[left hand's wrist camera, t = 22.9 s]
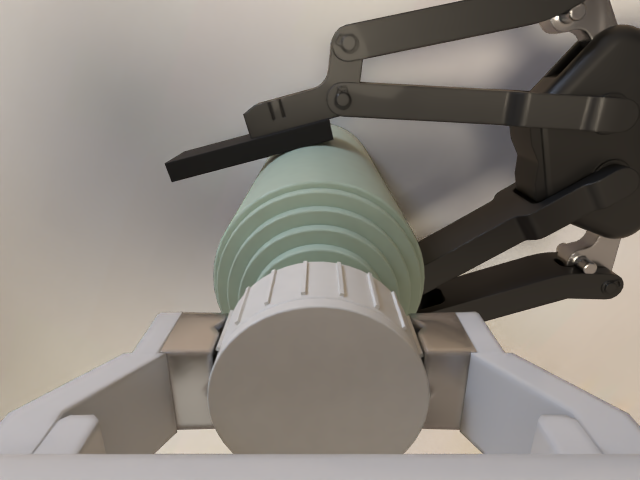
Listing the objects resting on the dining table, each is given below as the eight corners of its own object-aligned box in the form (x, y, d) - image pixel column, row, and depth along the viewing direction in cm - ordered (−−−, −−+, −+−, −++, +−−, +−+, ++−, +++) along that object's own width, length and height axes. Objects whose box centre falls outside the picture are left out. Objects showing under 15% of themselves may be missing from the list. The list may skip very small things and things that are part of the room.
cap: (252, 431, 11) (239, 503, 9) (200, 279, 9) (171, 328, 8) (423, 402, 10) (444, 470, 9) (396, 240, 9) (415, 282, 7)
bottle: (391, 191, 26) (523, 416, 9) (305, 244, 27) (280, 530, 10) (335, 100, 24) (371, 170, 7) (245, 161, 25) (98, 343, 8)
